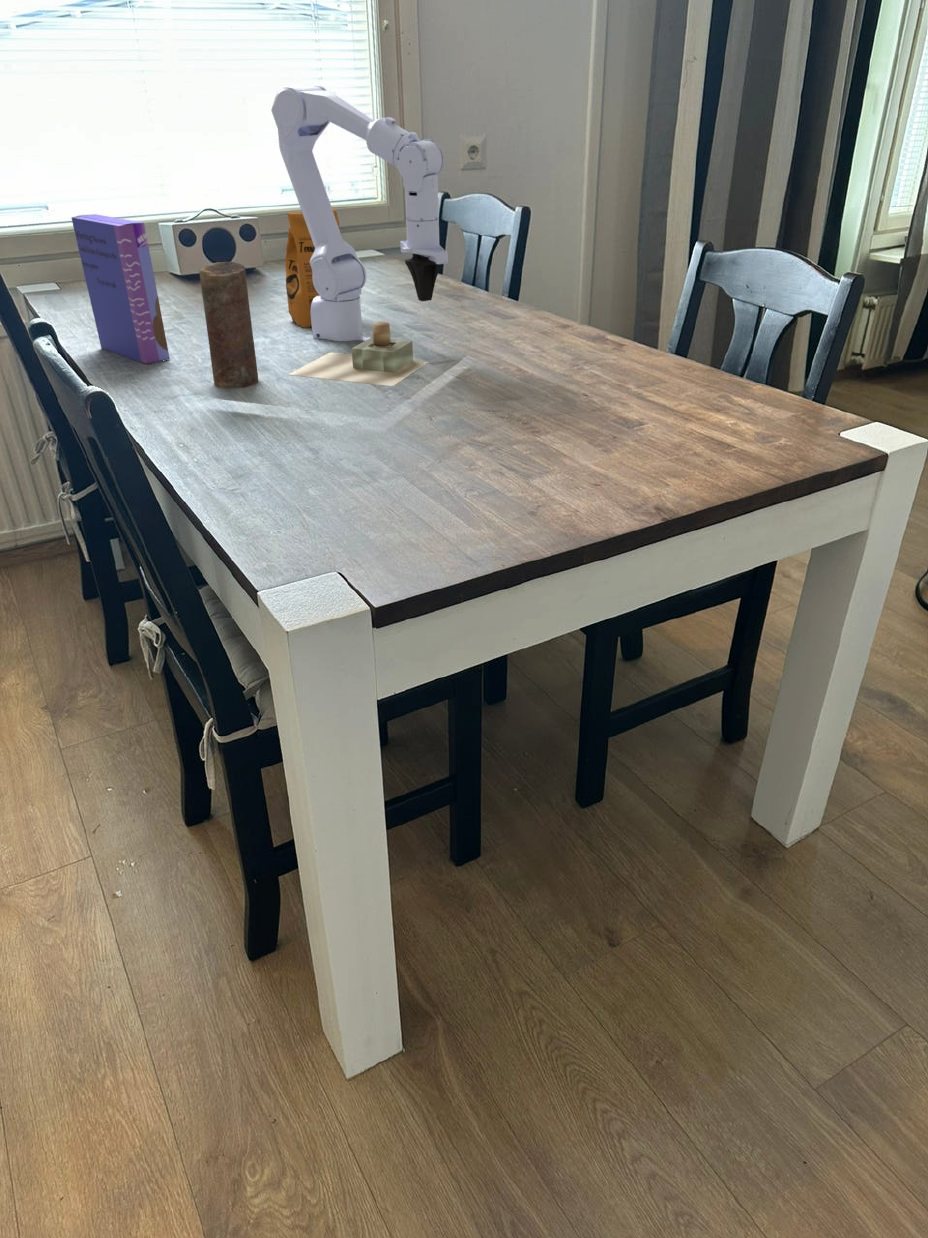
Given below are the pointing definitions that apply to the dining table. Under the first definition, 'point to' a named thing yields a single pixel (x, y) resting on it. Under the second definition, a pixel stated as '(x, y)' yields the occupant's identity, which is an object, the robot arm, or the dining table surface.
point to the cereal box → (121, 287)
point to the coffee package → (300, 270)
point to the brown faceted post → (229, 325)
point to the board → (352, 375)
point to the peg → (381, 335)
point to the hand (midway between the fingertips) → (425, 300)
